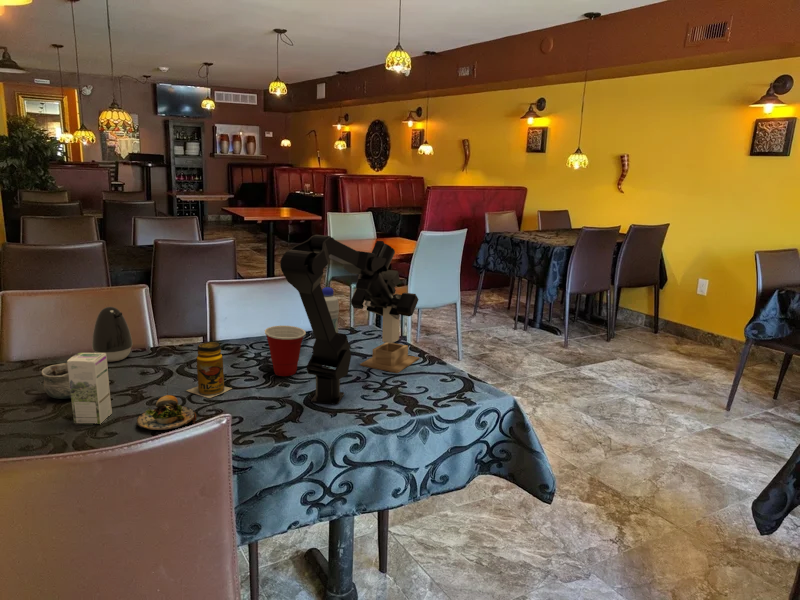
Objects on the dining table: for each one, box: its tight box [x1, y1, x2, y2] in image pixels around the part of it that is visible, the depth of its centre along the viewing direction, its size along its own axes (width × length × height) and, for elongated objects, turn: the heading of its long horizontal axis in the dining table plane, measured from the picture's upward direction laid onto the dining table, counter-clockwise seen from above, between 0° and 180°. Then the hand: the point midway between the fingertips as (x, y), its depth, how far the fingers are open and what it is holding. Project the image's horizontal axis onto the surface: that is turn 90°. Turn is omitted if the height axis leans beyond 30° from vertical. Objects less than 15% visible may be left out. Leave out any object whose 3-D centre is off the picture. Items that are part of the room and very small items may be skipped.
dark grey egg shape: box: [91, 306, 134, 363], centre depth 161 cm, size 10×10×15 cm
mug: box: [40, 362, 71, 400], centre depth 135 cm, size 10×12×10 cm
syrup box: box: [66, 352, 113, 425], centre depth 122 cm, size 6×6×14 cm
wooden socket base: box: [359, 342, 420, 374], centre depth 165 cm, size 14×12×4 cm
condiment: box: [185, 341, 233, 399], centre depth 140 cm, size 7×8×12 cm
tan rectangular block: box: [382, 307, 401, 343], centre depth 163 cm, size 4×3×12 cm, turn 153°
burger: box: [136, 386, 197, 431], centre depth 122 cm, size 12×12×8 cm
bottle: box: [321, 286, 340, 333], centre depth 171 cm, size 7×7×20 cm
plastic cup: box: [264, 325, 307, 377], centre depth 153 cm, size 11×11×12 cm
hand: (393, 317), depth 164 cm, fingers closed on tan rectangular block, 3 cm apart
